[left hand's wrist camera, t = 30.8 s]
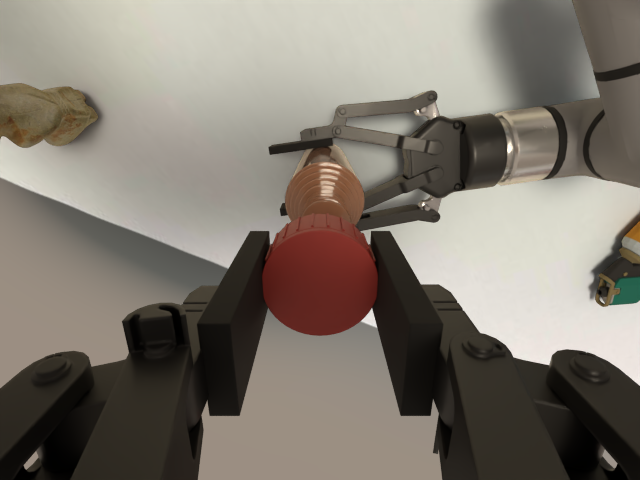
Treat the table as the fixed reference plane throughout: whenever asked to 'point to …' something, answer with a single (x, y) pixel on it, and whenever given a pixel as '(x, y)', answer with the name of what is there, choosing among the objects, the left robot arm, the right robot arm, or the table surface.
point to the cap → (320, 275)
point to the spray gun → (622, 273)
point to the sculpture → (43, 114)
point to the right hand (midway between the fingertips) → (276, 180)
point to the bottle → (325, 186)
